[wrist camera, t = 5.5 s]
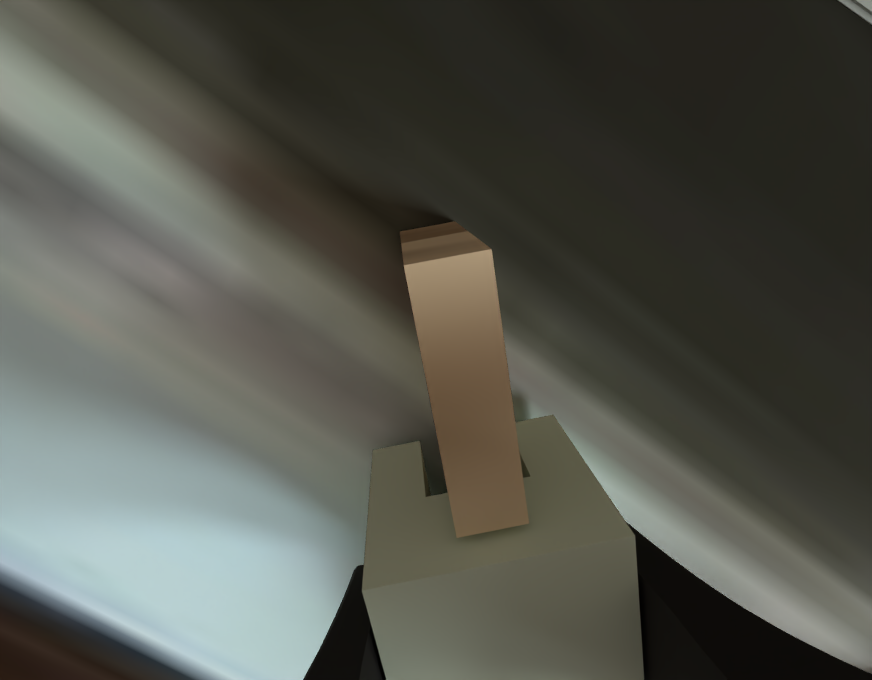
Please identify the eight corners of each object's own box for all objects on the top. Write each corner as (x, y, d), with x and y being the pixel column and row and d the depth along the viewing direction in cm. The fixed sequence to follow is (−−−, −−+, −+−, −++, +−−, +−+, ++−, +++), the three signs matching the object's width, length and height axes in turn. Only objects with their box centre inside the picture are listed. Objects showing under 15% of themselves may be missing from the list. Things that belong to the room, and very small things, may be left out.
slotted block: (567, 548, 15) (646, 713, 11) (404, 581, 15) (409, 762, 11) (553, 414, 14) (635, 535, 9) (372, 449, 14) (361, 590, 9)
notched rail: (527, 683, 18) (576, 868, 13) (488, 692, 18) (523, 880, 13) (454, 221, 13) (491, 249, 8) (399, 231, 13) (404, 265, 8)
